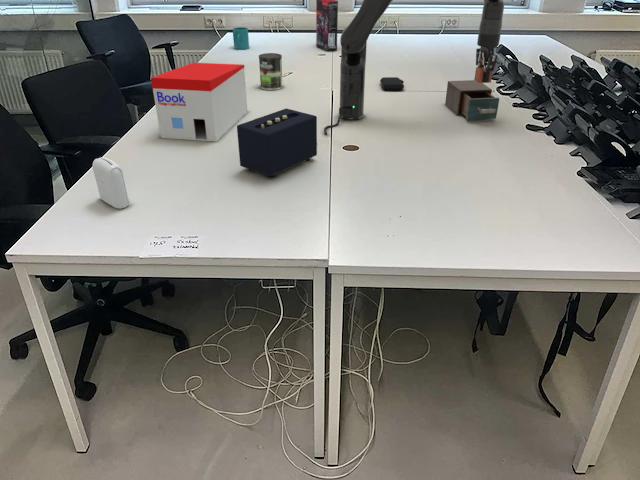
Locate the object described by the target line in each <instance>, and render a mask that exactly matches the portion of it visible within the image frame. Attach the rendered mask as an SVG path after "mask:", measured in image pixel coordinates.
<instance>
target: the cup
mask: <svg viewBox="0 0 640 480" xmlns="http://www.w3.org/2000/svg"><path fill="white" fill-rule="evenodd" d="M232 37H233V39H232V40H233V48H234V49H235V50H241V51H242V50H248V49H249V48H250V40H249V39H250V38H249V28H248V27H245V26H237V27H233V28H232Z"/></svg>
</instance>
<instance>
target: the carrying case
mask: <svg viewBox="0 0 640 480" xmlns="http://www.w3.org/2000/svg"><path fill="white" fill-rule="evenodd" d="M379 82H380V85H381V87H382V90H384V91H402V90H403V89H404V88H405V85H404V83H405V81H404V80H403V79H401V78H400V77H398V76H394V77H393V76H392V77H391V76H390V77H389V76H386V77H385V76H383V77H381V79H380V80H379Z"/></svg>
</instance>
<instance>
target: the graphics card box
mask: <svg viewBox="0 0 640 480" xmlns="http://www.w3.org/2000/svg"><path fill="white" fill-rule="evenodd" d="M315 1H316V4H315V5H316V7H315V8H316V12H315V14H316V17H315V20H316V21H315V22H316V24H315V25H316V28H315V29H316V31H315V32H316V33H315V35H316V36H315V38H316V39H315V46H316V48H319V49H322V50H324V51H326V52H332V51H338V24H339V23H338V22H339V21H338V17H339V15H338V14H339V0H315Z"/></svg>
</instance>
